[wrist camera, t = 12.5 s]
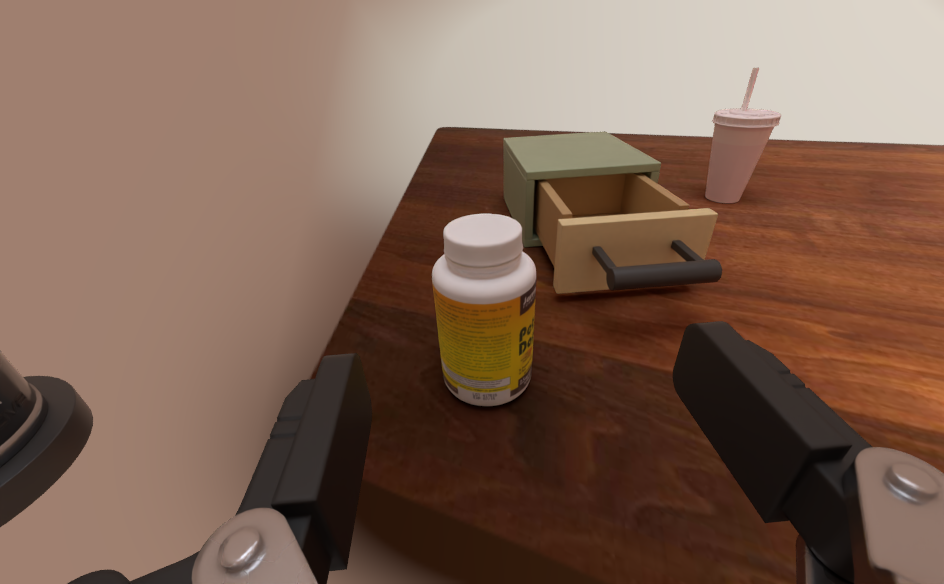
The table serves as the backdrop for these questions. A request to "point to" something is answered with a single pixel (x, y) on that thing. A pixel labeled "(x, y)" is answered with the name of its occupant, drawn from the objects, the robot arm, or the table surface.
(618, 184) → the drawer
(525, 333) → the supplement bottle
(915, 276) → the table surface
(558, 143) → the cabinet
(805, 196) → the table surface
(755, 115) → the smoothie
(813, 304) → the table surface
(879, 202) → the table surface
